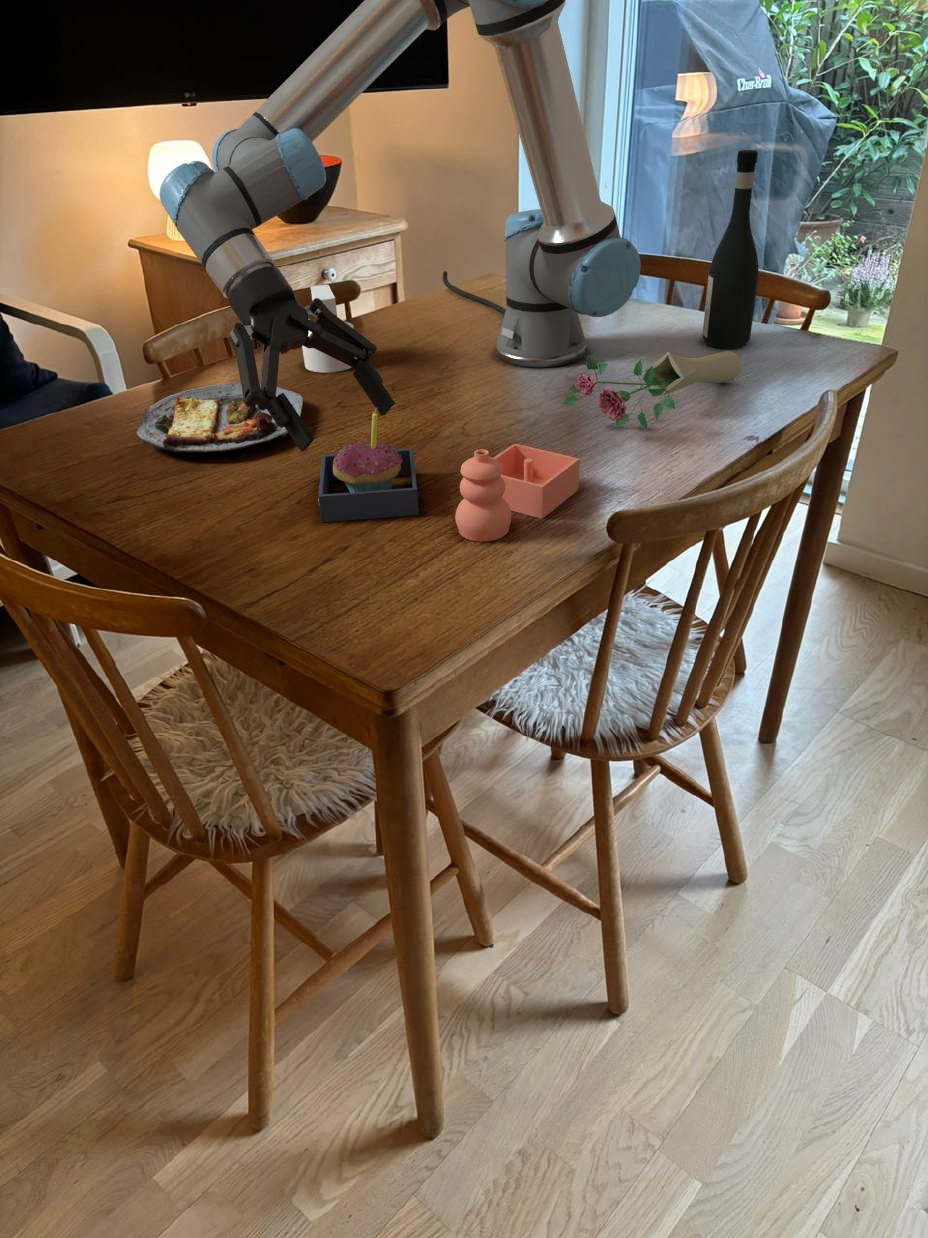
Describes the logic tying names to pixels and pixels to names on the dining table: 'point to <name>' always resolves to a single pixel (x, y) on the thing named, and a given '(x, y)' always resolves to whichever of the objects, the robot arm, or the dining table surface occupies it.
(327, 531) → the dining table surface
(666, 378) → the flower vase
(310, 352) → the cylinder with rectangular tab
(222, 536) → the dining table surface
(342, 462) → the cupcake
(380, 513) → the rectangular frame
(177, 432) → the food plate
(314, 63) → the robot arm
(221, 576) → the dining table surface
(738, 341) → the wine bottle
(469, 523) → the pottery
